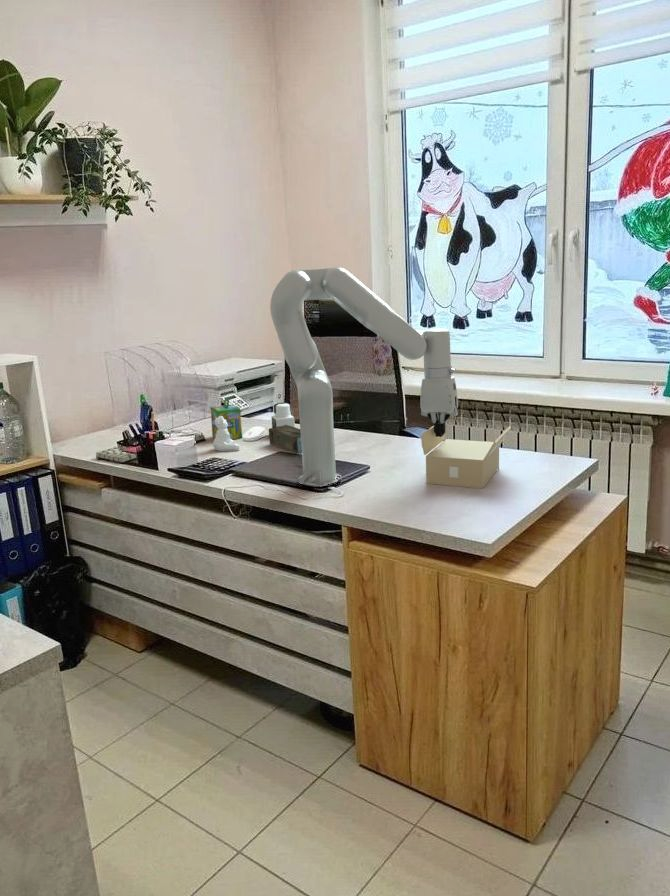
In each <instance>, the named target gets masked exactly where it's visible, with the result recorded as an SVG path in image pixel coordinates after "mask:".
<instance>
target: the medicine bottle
mask: <svg viewBox="0 0 670 896" xmlns="http://www.w3.org/2000/svg"><path fill="white" fill-rule="evenodd" d="M291 412H292V411H291V404H290V403H289V402H278V403H275V404H273V414H274V415H273V414H272V415H271V428H275V427H278V426H284V425H289V426H292V427H295V428H296V426H295V424H296V423H295V417H294V416H293V415H292V414H291Z"/></svg>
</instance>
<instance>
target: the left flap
mask: <svg viewBox="0 0 670 896" xmlns="http://www.w3.org/2000/svg"><path fill="white" fill-rule="evenodd" d="M446 439H447V438H446V433H445V434H444V435H443V436H442V437H439V436H438V437H436V433H434V425H433V426H431V427H430V428H428V429H427V430H426V431H424V432H423V433H421V434H420V440H421V442H420V443H421V448H422V451H423V455H424V456H427V455H428V454H429V453H430V452H431V451H433V450H434V449H435V448H436V447H437V446H439V445H440V444H441V443H442V442H444V441H445V440H446Z"/></svg>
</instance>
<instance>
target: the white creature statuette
mask: <svg viewBox="0 0 670 896" xmlns="http://www.w3.org/2000/svg"><path fill="white" fill-rule="evenodd" d="M226 421H227V420H225V419H224V418H223V416H219V417H218V418H216V419H215V425H216V426H217V428H218V430H217V433H216V438H214V440H213V442H212V447H213V448H214V450H216V451H218V452H238V451H240V445H239V444H238V443H236V441H235V439H230V436H229V435H230V434H229V432H228V429H227V426H228V424H227V422H226Z"/></svg>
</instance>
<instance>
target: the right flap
mask: <svg viewBox="0 0 670 896" xmlns="http://www.w3.org/2000/svg"><path fill="white" fill-rule="evenodd" d="M511 428H512V427H511V426H510V425H509V426H508V427H507V428H506V429H505V430H504V431H503V432H502V433H501V434H500V435H499V436H498V437H497V438H496V439H495V441H493V442H494V443H493V445H492V446H491V448H490V450H489V451H488V453H487V455H486V456H485V458H484V459H485V460H486V459H487V458H488V457H489V456H490V455H491V454H492V453H493V452H494V451H495V449H496V448H497V447H498V446H499V447H500V446H501V444H502V443H503V441H504V440H505V439H506V437H507V435H508V434H509V431H510V430H511Z"/></svg>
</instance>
